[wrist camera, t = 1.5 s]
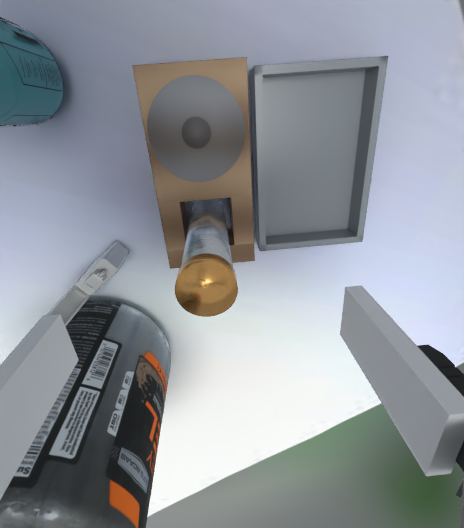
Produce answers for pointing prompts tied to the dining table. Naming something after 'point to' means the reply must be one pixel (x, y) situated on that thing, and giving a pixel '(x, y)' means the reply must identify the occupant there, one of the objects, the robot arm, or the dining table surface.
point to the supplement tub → (97, 428)
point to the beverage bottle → (26, 78)
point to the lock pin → (206, 263)
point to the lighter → (90, 281)
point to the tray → (314, 149)
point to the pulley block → (199, 145)
